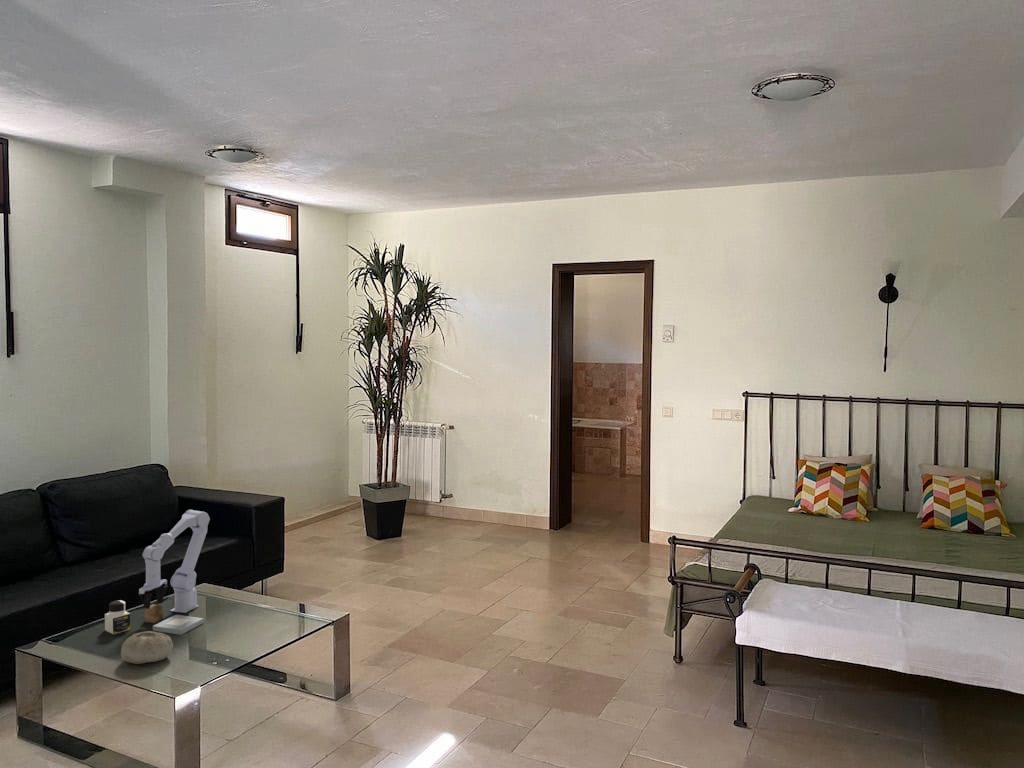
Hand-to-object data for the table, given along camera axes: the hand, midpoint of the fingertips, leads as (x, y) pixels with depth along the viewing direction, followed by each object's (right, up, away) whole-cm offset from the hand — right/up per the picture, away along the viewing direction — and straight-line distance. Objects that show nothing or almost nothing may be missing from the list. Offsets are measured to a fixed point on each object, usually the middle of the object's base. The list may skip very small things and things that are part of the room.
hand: (153, 605), depth 338 cm
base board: (+14, -7, -7) cm, 17 cm away
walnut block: (0, -7, +1) cm, 7 cm away
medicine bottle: (-10, -7, -11) cm, 17 cm away
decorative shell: (+16, -10, -41) cm, 45 cm away
